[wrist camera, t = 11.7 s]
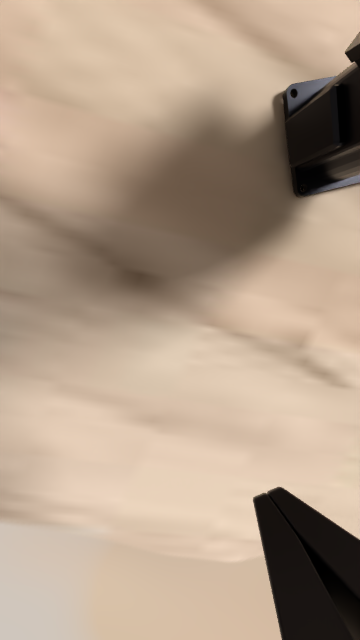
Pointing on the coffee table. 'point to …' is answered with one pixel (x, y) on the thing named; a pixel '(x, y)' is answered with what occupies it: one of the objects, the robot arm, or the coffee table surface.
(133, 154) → the coffee table surface
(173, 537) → the coffee table surface
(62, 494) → the coffee table surface
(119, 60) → the coffee table surface
